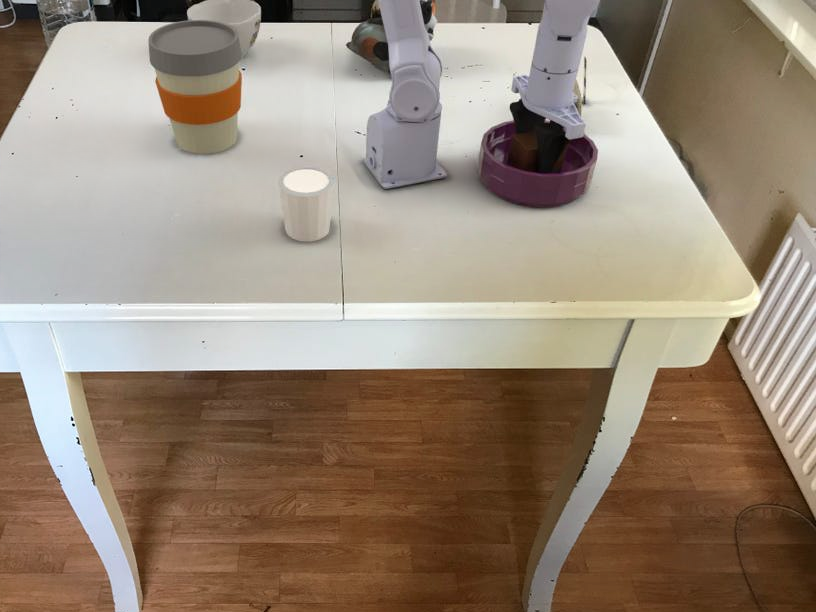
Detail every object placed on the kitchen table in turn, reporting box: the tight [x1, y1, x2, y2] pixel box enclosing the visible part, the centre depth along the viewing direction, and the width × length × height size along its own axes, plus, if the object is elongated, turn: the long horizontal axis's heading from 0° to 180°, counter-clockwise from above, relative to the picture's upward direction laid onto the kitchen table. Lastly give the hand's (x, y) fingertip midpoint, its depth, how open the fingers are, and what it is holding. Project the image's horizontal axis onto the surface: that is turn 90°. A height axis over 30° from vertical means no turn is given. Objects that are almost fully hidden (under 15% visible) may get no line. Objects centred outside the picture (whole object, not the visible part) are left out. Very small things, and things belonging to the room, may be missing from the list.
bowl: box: [476, 119, 599, 208], centre depth 102 cm, size 15×15×5 cm
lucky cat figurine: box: [345, 0, 438, 75], centre depth 127 cm, size 15×12×14 cm
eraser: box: [507, 131, 568, 174], centre depth 102 cm, size 6×4×5 cm
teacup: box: [186, 0, 262, 60], centre depth 129 cm, size 15×12×8 cm
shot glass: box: [277, 165, 335, 243], centre depth 93 cm, size 7×7×7 cm
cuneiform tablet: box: [573, 56, 587, 118], centre depth 115 cm, size 7×4×12 cm
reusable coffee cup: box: [148, 19, 243, 155], centre depth 106 cm, size 13×13×15 cm
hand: (534, 163), depth 102 cm, fingers closed on eraser, 4 cm apart
